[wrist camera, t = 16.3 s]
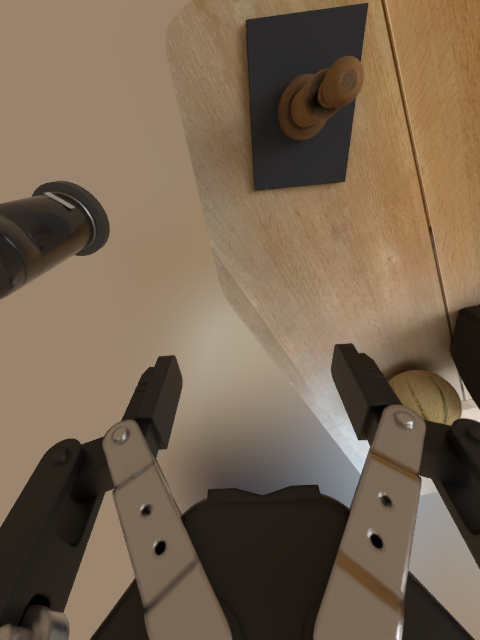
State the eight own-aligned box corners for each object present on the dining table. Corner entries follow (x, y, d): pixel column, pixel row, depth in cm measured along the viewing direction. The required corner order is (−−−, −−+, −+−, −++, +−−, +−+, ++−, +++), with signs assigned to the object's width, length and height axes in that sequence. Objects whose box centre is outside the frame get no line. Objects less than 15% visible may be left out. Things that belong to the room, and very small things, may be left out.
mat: (254, 189, 40) (254, 190, 39) (246, 23, 30) (246, 19, 29) (342, 181, 39) (345, 181, 38) (364, 6, 29) (368, 2, 28)
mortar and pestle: (335, 112, 34) (409, 83, 19) (296, 152, 36) (334, 153, 21) (307, 62, 31) (367, -18, 16) (267, 109, 34) (288, 75, 19)
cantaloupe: (425, 347, 59) (474, 400, 46) (440, 381, 65) (487, 435, 53) (364, 374, 64) (394, 428, 51) (384, 403, 70) (415, 457, 58)
